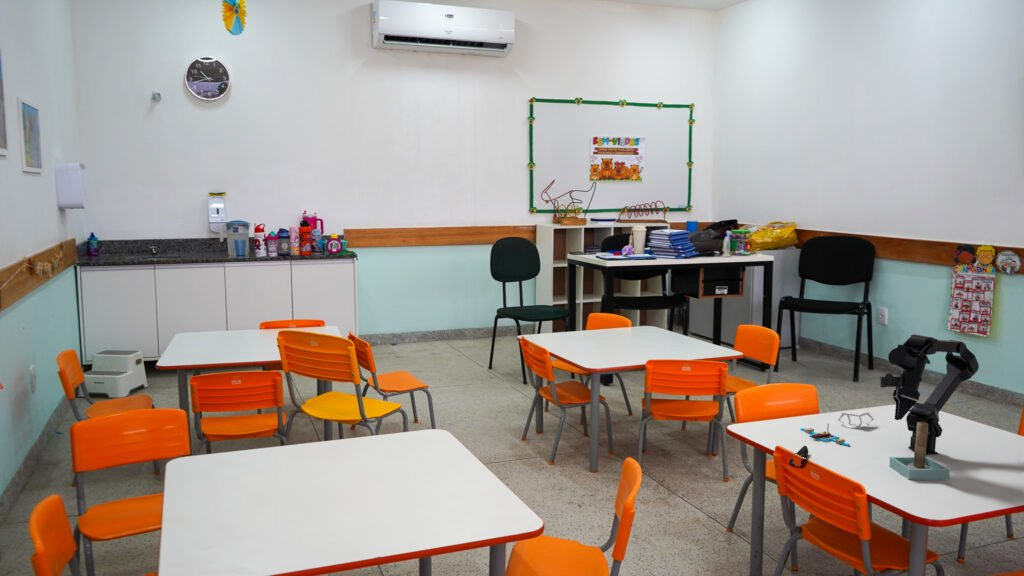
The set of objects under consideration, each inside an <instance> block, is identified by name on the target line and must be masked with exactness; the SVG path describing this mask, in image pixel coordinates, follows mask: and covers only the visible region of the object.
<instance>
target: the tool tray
mask: <svg viewBox="0 0 1024 576" xmlns="http://www.w3.org/2000/svg"><path fill="white" fill-rule="evenodd" d="M909 463H914V456H890V457H889V468H891V469H892V470H894V471H895V472H897V473H899V474H900V475H902V476H903V477H905V478H906V479H908V480H909V481H910V480H913V481H915V480H916V481H917V480H921V481H922V480H923V481H924V480H925V481H926V480H927V481H928V480H929V481H930V480H932V481H933V480H934V481H935V480H937V481H939V480H941V481H942V480H944V481H945V480H948V481H949V480H950V473H951V472H950V471H951V469H949V468H948V467H946V466H945V465H942V464H941V463H939V462H937V461H936V460H933V459H932V458H931V457H928V456H926V458H925V465H927V466H929V467H930V469H911V468H909V467H908V464H909Z"/></svg>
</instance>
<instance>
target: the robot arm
mask: <svg viewBox="0 0 1024 576" xmlns="http://www.w3.org/2000/svg"><path fill="white" fill-rule="evenodd" d="M937 352H940V353H946V354H945V357H944V358H945V362H946V365H945V367H946V373H945V375H944V376H943V377H942V379H941V380H940V382H939V383H938V384H937V385H936V387H935V388H934V389H933V390H932V392H931V393H930V395H929V396H928V398H927V399H926V400H925V401H924V402H923V403H919V402H918V401H919V399H920V396H921V393H920V392H919V388H920V385H921V382H922V381H923V375H924V371H925V368H926V365H927V364H928V365H930V364H931V360H930V359H929V358H928V356H931V355H935V354H936V353H937ZM954 353H955V354H954ZM887 358H888V361H889V363H890V364H892V365H894V366H896V367H897V368H899V369H902V372H901V373H900V374H899V376H893V374H892V373H885V375H884V376H880V377H879V378H878V379H879V387H880V388H881V389H882V388H884V389H885V388H894V390H893V391H892V394H891V398H892V399H893V400H894V402H895V410H894V420H896V421H899V420H902V419H903V418H904V417H905V416H906V425H907V430H908V431H909V432H912V435H911V436H910V440H909V441H910V443H909V444H910V445H909V446H908V449H909V450H911V451H913V452H914V453H915V441H916V430H917V422H925V423H928V435H927V447H926V455H939V452H938V451H936V445H937V444H936V443H937V442H936V441H937V438H940V437H941V436H942V433H943V428H942V427H941V425H940V416H939V413H940V411H941V410H942V409H943V407H944V406H945V405H946V403H947V402H948V401H949V400H950V398H951V396H952V395H953V393H955V391H956V390H957V388H958V387H959V386H960V384H961V383H963V382H965V381H968V380H970V379H972V377H973V376H974V375H975V374H977V372H978V371H979V367H980V366H979V362H978V360H977V357H976V355H975V354H974V353H973V352H972V351H971V350H970V349H969V348H968V347H967V344H966V343H965V342H963V341H960V340H954V339H949V340H948V339H937V338H935V337H932V336H926V335H920V334H912V335H910V337H909V338H908V339H906V340H905V342H904V343H903V344H899V343H898V345H897V347H894V348H893V349H892V350H890V351H889V353H888V357H887Z"/></svg>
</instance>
